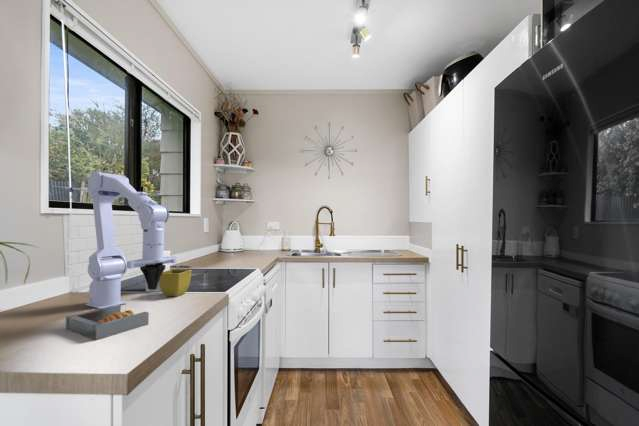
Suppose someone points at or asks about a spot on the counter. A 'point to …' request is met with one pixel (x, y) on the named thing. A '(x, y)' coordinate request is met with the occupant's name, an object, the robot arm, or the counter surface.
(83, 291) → the counter surface
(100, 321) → the pastry
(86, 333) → the grey tray
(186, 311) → the counter surface
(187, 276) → the flower pot
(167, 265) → the skincare box
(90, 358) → the counter surface
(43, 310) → the counter surface
